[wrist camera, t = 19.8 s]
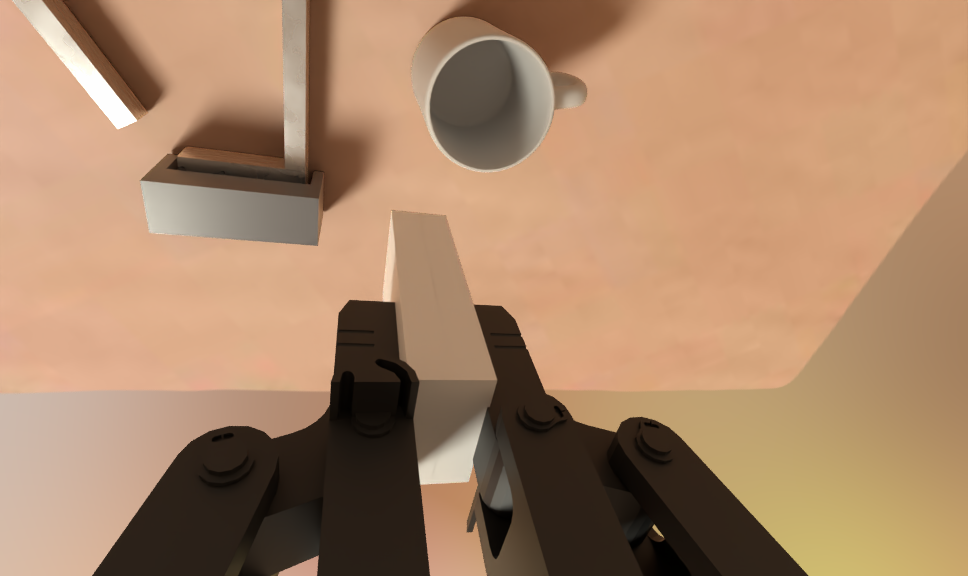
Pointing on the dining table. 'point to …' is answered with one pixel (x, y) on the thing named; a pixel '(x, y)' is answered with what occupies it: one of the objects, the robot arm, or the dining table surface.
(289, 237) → the grey rectangular block
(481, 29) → the mug
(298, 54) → the base
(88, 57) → the red-tipped stick
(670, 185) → the dining table surface
